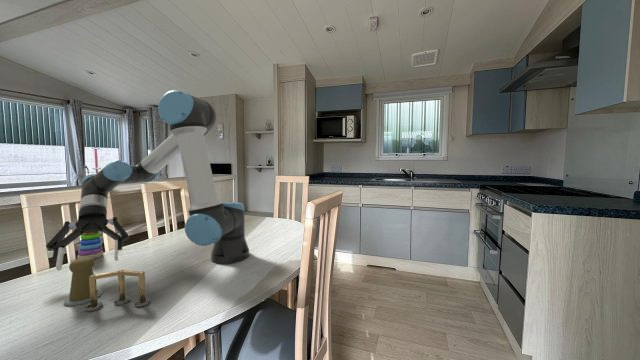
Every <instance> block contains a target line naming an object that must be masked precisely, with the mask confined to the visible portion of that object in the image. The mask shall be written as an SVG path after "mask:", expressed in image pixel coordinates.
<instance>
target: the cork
mask: <svg viewBox="0 0 640 360" xmlns="http://www.w3.org/2000/svg"><path fill="white" fill-rule="evenodd" d="M94 265H95V259H92V258H90V257H85V258H79V259H78V258H76V259H74V260H72V261H71V262H70V263H69V267H68V269H69V271H70V272H71V283H70V290H69V295H68V297H69V301H71V302H77V301H82V300H86V299H89V298H90V286H89V276H90V275H95V274H94V271H93V268H94ZM97 293H98V290H97Z"/></svg>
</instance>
